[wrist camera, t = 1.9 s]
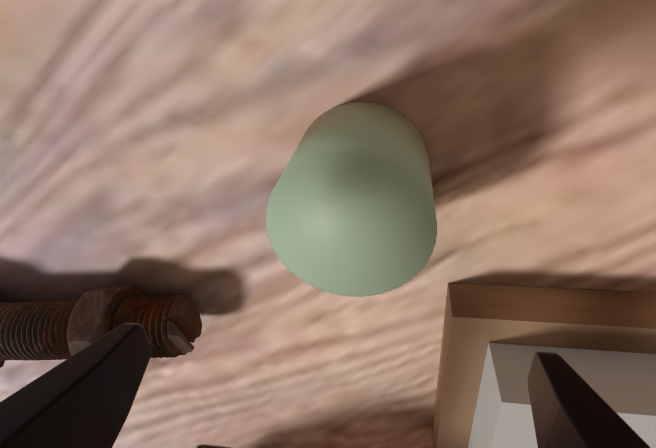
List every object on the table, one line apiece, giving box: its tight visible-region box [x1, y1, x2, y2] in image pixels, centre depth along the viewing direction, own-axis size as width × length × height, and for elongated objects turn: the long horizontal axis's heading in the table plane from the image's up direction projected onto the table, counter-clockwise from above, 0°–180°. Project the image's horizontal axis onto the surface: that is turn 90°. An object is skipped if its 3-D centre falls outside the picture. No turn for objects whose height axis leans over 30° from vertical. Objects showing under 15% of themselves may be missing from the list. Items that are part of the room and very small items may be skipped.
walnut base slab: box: [432, 283, 656, 448], centre depth 22 cm, size 12×12×3 cm
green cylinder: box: [266, 102, 437, 297], centre depth 16 cm, size 6×6×5 cm
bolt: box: [0, 284, 202, 368], centre depth 23 cm, size 6×5×15 cm
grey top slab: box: [468, 343, 656, 448], centre depth 19 cm, size 9×9×3 cm
